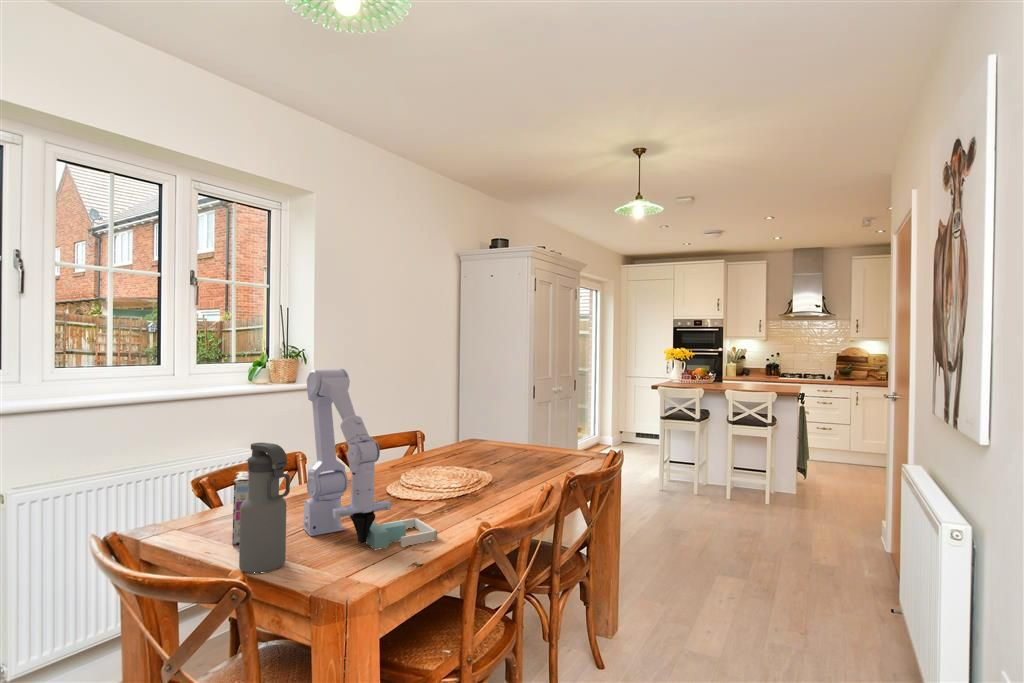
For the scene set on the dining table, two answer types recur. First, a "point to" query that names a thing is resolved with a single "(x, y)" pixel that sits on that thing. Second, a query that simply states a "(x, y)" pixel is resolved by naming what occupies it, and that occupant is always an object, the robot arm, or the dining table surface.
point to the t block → (385, 534)
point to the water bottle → (264, 511)
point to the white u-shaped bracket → (425, 536)
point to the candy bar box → (239, 502)
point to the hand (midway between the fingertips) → (362, 541)
